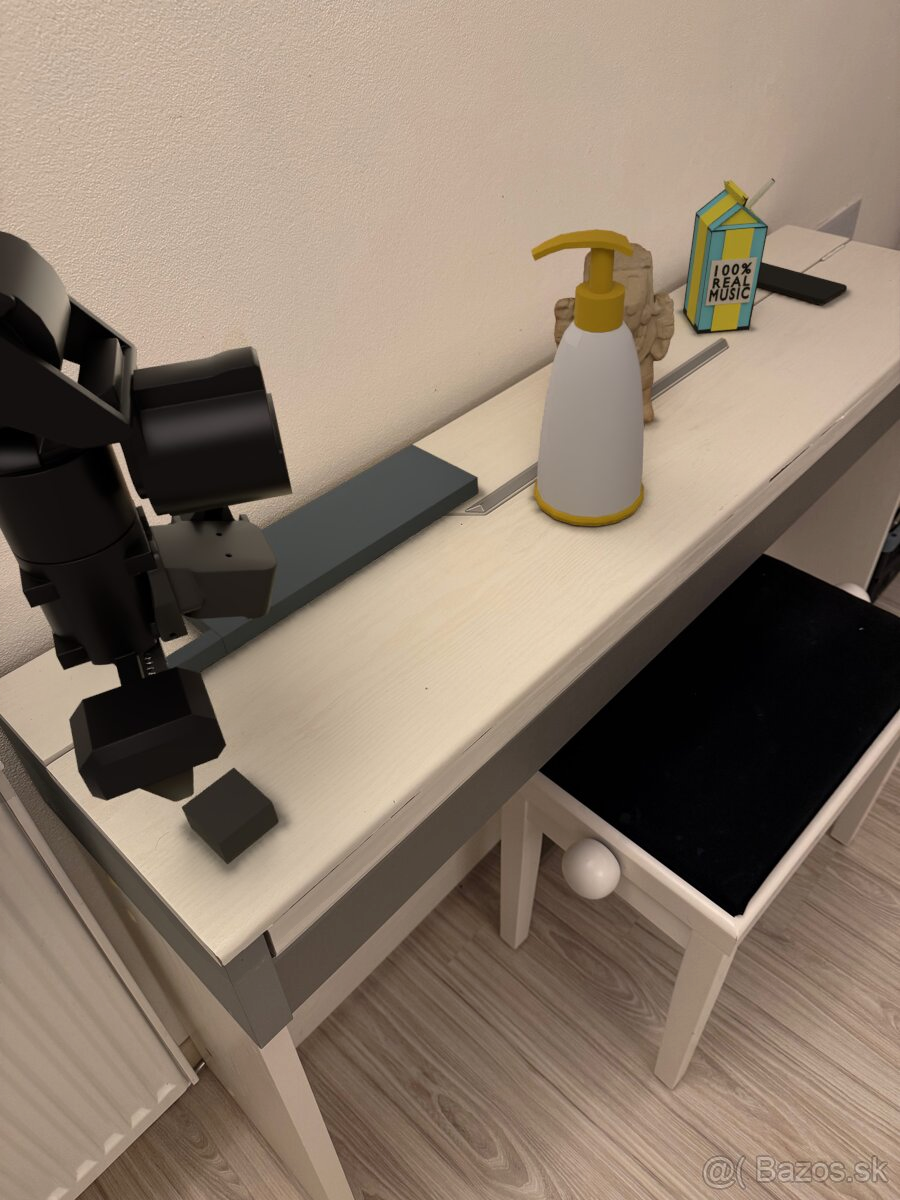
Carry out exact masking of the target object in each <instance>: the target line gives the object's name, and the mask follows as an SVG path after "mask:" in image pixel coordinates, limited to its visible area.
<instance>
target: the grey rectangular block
mask: <svg viewBox="0 0 900 1200" xmlns="http://www.w3.org/2000/svg"><path fill="white" fill-rule="evenodd" d="M477 494H479V477H478V476H476V475H474V474H472V473H470V472H468V471H467V470H464V469H462V468H460V467H458V466H456V465H454V464H452V463H450V462H448V461H446V460H444V459H443V458H441V457H438V456H437V455H435V454H433V453H431V452H429V451H427V450H425V449H422V448H420V447H418V446H417V445H414V444H413V443H411V444H409V445H407V446H406V447H403V448H402V449H401V450H399V451H397V452H394V453H393V454H391V455H390V456H388V457H385V459H383V460H381V461H379V462H378V463H376V464H374V465H372V466H371V467H368V468H367V469H365V470H363V471H362V472H360V473H358V474H356V475H355V476H353V477H351V478H350V479H348V480H346V481H344V482H343V483H341V484H339V485H337V486H335V487H333V488H332V489H330V490H328V491H327V492H325V493H323V494H321V495H320V496H317V497H316V498H314V499H313V500H311V501H309V502H308V503H305V504H304V505H302V506H301V507H299V508H297V509H295V510H293V511H292V512H290V513H288V514H286V515H284V516H283V517H281V518H279V519H278V520H276V521H274V522H272V523H271V524H269V525H267V526H266V527H263V528H261V530H262V532H263V534H264V536H265V537H266V539H267V541H268V543H269V545H270V547H271V549H272V551H273V553H274V555H275V557H276V559H277V569H276V574H275V580H274V586H273V591H272V597H271V603H270V608H269V612H268V614H267V615H265V616H264V617H261V618H257V619H247V618H245V617H227V618H211V619H193V618H189V617H186V616H184V615H183V614H181V615H182V618H183V619H185V620H186V621H187V622H189V623H190V624H191V625H193V626H194V627H195V628H196V629H197V630H199V632H201V633H202V634H200V635H199V636H197V637H195V638H194V639H192V640H191V641H188V643H186V644H184V645H182V646H181V647H179V648H178V649H176V650H175V651H173V652H172V653H169V654H168V655H165V656H166V659H167V662H168V665H169V669H171V668H174V667H176V666H177V667H181V668H184V669H188V670H192V671H196V672H199V673H201V672H202V671H204V670H205V669H207V668H208V667H210V666H211V665H213V664H214V663H216V662H217V661H220V660H221V659H222V658H224V657H225V656H228V655H229V654H231V653H232V652H234V651H235V650H236V649H238V648H240V647H241V646H242V645H244V644H246V643H248V642H249V641H250V640H252V639H254V638H255V637H257V636H258V635H260V634H261V633H264V632H265V631H266V630H268V629H270V628H271V627H272V626H273V625H276V623H279V622H280V621H282V620H284V619H285V618H287V617H288V616H290V615H291V614H293V613H294V612H295V611H297V610H298V609H300V608H302V607H303V606H305V605H306V604H308V603H309V602H311V601H313V600H314V599H316V598H317V597H319V596H320V595H322V594H324V593H325V592H327V591H328V590H330V589H331V588H333V587H335V586H336V585H337V584H339V583H340V582H343V581H344V580H346V579H347V578H349V577H350V576H352V575H353V574H355V573H356V572H359V570H361V569H362V568H364V567H366V566H367V565H369V564H371V562H374V561H375V560H376V559H378V558H379V557H381V556H382V555H384V554H386V553H387V552H389V551H390V550H392V549H393V548H395V547H397V546H398V545H400V544H402V542H404V541H406V540H407V539H409V538H410V537H412V536H413V535H415V534H417V533H418V532H420V531H421V530H423V529H425V528H426V527H428V526H429V525H431V524H433V522H435V521H437V520H438V519H440V518H442V517H443V516H445V515H447V514H448V513H449V512H451V511H453V510H454V509H456V508H457V507H458V506H460V505H462V504H464V503H465V502H467V501H468V500H470V499H471V498H473V497H474V496H476V495H477Z"/></svg>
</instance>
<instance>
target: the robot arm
mask: <svg viewBox="0 0 900 1200" xmlns="http://www.w3.org/2000/svg"><path fill="white" fill-rule="evenodd" d="M137 357H138V348H137V347H136V344H135V343H133V342H131V340H129V339H128V338H127V337H125V336H124V335H123V334H121V333H120V332H118V330H116V329H115V328H113V327H112V326H111V325H110V324H108V323H107V322H105V321H104V320H103V319H102V318H100V317H99V316H98V315H97V314H95V313H93V312H92V311H91V310H90V309H88V308H87V307H86V306H85V305H83V304H82V303H80V302H79V300H77V299H75V298H74V297H73V296H71V295H70V294H69V293H68V290H67V287H66V285H65V284H64V282H63V281H62V279H61V277H60V275H59V274H58V272H57V271H56V269H55V268H54V266H53V265H52V264H51V263H50V262H49V261H47V259H45V258H44V257H43V256H42V255H41V254H40V253H39V252H38V251H37V250H35V248H33V246H32V244H31V243H29V241H26V240H25V239H23V238H21V237H19V236H17V235H14V234H12V233H9V232H7V231H2V230H0V531H1V532H2V535H3V537H4V539H5V541H6V542H7V545H8V546H9V548H10V550H11V552H12V554H13V556H14V558H15V561H16V562H17V564H18V570H19V577H20V583H21V590H22V593H23V595H24V598H25V599H26V601H27V603H28V605H29V607H30V608H31V609H34V608H36V607H40V609H41V611H42V613H43V615H44V616H45V619H46V620H47V622H48V624H49V626H50V628H51V634H52V640H53V645H54V646H53V647H54V650H55V651H54V652H55V656H56V658H57V660H58V662H59V664H60V666H61V668H62V670H63V671H66V670H69V669H72V668H75V667H78V666H81V665H84V664H87V663H89V662H91V664H92V665H93V666H107V665H114V667H116V672H117V676H118V679H119V683H120V686H117V687H114V688H111V689H108V690H105V691H102V692H100V693H97V694H94V695H91V696H88V697H85V698H82V699H81V701H80V702H79V704H78V706H77V707H76V708H75V710H74V711H73V713H72V714H71V715H70V717H69V719H68V721H69V727H70V733H71V739H72V744H73V749H74V754H75V760H76V766H77V772H78V773H79V776H80V777H81V779H82V781H83V782H84V784H85V786H86V788H87V789H88V792H89V793H90V794H91V797H93V798H96V799H100V800H103V801H106V802H107V801H110V800H113V799H116V798H118V797H121V796H123V795H126V794H128V793H131V792H133V791H137V790H138V789H140V790H142V791H145V792H148V793H150V794H153V795H155V796H158V797H160V798H163V799H166V800H167V801H171V802H173V803H178V802H180V801H183V800H185V799H188V798H190V797H192V796H193V795H194V793H195V781H194V777H195V776H194V768H196V767H198V766H201V765H203V764H206V763H209V762H212V761H214V760H217V759H219V757H220V756H221V754H222V752H223V751H224V749H226V746H227V743H226V740H225V737H224V734H223V732H222V729H221V725H220V723H219V720H218V718H217V715H216V712H215V708H214V706H213V703H212V701H211V697H210V695H209V692H208V689H207V686H206V683H205V681H204V678H203V675H202V673H201V672H196V671H192V670H188V669H184V668H181V667H177V666H176V667H174V668H171V669H169V665H168V662H167V659H166V656H167V655H166V652H165V650H164V646H163V644H162V643H167V642H170V641H174V640H177V639H180V638H182V637H185V636H189V631H188V629H187V627H186V623H185V621H184V617H183V616H182V615H181V614H183V615H184V616H186V617H189V618H193V619H211V618H227V617H245V618H247V619H257V618H261V617H264V616H265V615H267V614H268V612H269V608H270V603H271V597H272V591H273V586H274V580H275V574H276V569H277V559H276V557H275V555H274V553H273V551H272V549H271V547H270V545H269V543H268V541H267V539H266V537H265V536H264V534H263V532H262V528H261V527H260V526H258V525H257V524H255V523H253V522H251V520H250V518H249V517H248V514H246V513H240V514H239V515H238V520H236V519H235V517H234V516H233V513H232V512H231V509H230V506H231V507H232V506H235V505H241V504H247V503H252V502H257V501H262V500H268V499H273V498H277V497H283V496H288V495H293V489H292V484H291V480H290V479H291V477H290V473H289V469H288V465H287V458H286V455H285V450H284V445H283V441H282V436H281V432H280V427H279V422H278V417H277V412H276V409H275V404H274V399H273V395H272V392H267V388H266V383H265V378H264V375H263V372H262V368H261V363H260V359H259V354H258V350H257V349H256V348H255V347H253V346H251V345H250V346H244V347H237V348H231V349H226V350H223V351H220V352H218V353H216V354H213V355H211V356H207V357H203V358H198V359H190V360H186V361H180V362H173V363H168V364H167V363H166V364H160V365H155V366H149V367H144V368H143V367H142V368H138V365H137V359H138V358H137ZM64 361H68V362H69V363H73V364H76V365H78V366H79V369H78V375H77V381H75V380H74V379H72V378H71V377H69V375H67V374H65V373H64V372H62V369H63V363H64ZM115 444H119V445H120V448H121V451H122V454H123V457H124V462H125V464H126V468H127V471H128V474H129V477H130V480H131V483H132V485H133V488H134V490H135V493H136V494H137V496H138V498H140V499H141V500H147V499H148V501H149V504H150V506H151V507H152V510H153V512H154V514H155V515H156V516H157V517H161V516H167V515H169V516H170V517H171V518H170V519H171V520H170V522H169V523H167V524H158V525H157V524H155V525H150V523H149V521H148V518H147V515H146V512H145V510H144V507H143V505H141V504H140V505H138V506H137V505H136V502H135V500H134V499H133V497H132V494H131V492H130V489H129V487H128V484H127V481H126V478H125V475H124V473H123V470H122V467H121V466H120V462H119V460H118V457H117V455H116V451H115V449H114V447H113V445H115Z"/></svg>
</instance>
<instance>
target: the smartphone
mask: <svg viewBox="0 0 900 1200" xmlns="http://www.w3.org/2000/svg"><path fill="white" fill-rule="evenodd" d="M757 288H761V289H765V290H768V291H772V292H775V293H779V294H782V295H786V296H789V297H792V298H796V299H799V300H803V301H806V302H810V303H813V304H817V305H825V304H826V303H828V302H830V301H831V300H833V299H835V298H836V297H839V296H840V295H841V294H843V293H845V292H846V291H847V289H848V285H846V284H844V283H840V282H838V281H833V280H829V279H826V278H822V277H818V276H815V275H810V274H807V273H804V272H800V271H796V270H792V269H789V268H786V267H781V266H778V265H774V264H771V263H766V262H763V261H762V263H761V268H760V273H759V279H758V284H757Z"/></svg>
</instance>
